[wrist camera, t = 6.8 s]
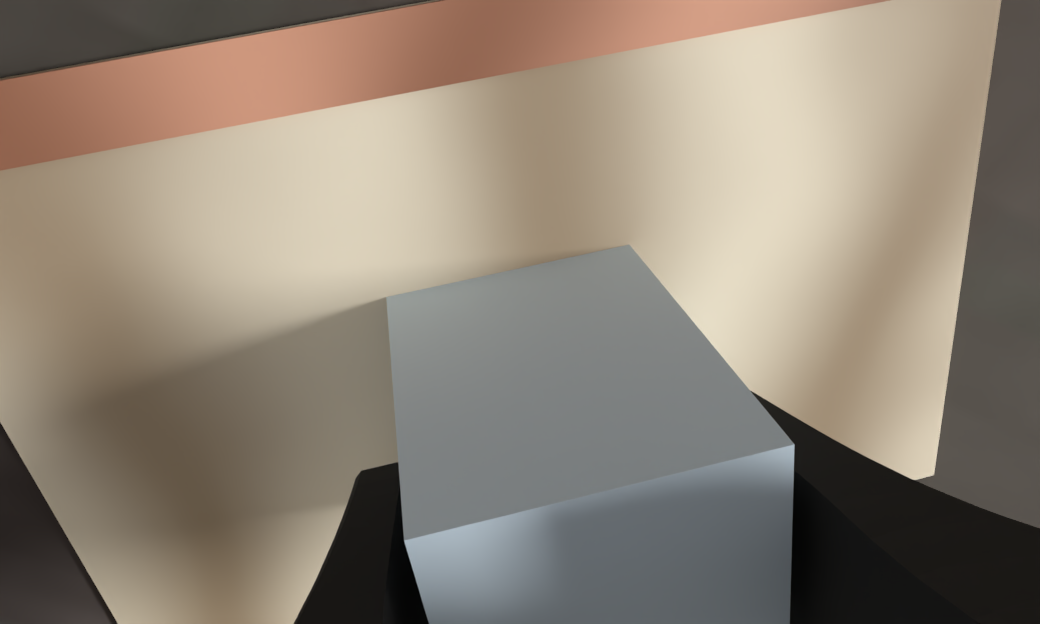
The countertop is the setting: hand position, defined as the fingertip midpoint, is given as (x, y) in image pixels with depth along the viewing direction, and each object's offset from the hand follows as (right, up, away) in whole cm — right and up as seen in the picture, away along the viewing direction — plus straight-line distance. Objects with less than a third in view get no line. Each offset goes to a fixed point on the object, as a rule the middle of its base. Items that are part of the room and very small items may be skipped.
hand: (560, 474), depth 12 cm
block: (-1, +1, +2) cm, 3 cm away
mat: (-1, +2, +2) cm, 3 cm away
